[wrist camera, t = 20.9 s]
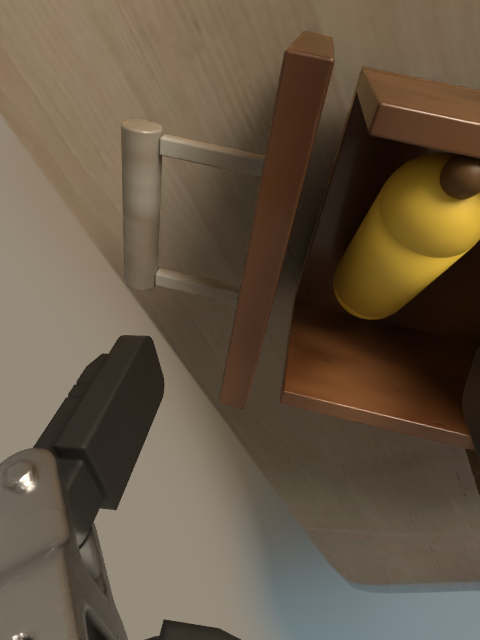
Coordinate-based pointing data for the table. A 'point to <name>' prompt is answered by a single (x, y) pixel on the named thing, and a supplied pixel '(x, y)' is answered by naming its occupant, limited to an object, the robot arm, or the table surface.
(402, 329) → the drawer
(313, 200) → the table surface
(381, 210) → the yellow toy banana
